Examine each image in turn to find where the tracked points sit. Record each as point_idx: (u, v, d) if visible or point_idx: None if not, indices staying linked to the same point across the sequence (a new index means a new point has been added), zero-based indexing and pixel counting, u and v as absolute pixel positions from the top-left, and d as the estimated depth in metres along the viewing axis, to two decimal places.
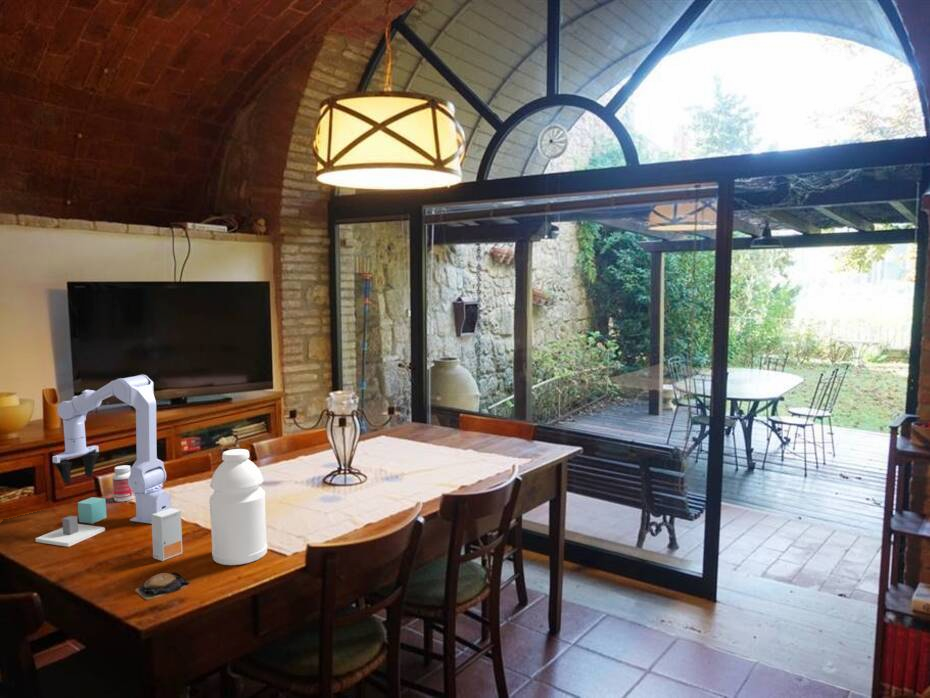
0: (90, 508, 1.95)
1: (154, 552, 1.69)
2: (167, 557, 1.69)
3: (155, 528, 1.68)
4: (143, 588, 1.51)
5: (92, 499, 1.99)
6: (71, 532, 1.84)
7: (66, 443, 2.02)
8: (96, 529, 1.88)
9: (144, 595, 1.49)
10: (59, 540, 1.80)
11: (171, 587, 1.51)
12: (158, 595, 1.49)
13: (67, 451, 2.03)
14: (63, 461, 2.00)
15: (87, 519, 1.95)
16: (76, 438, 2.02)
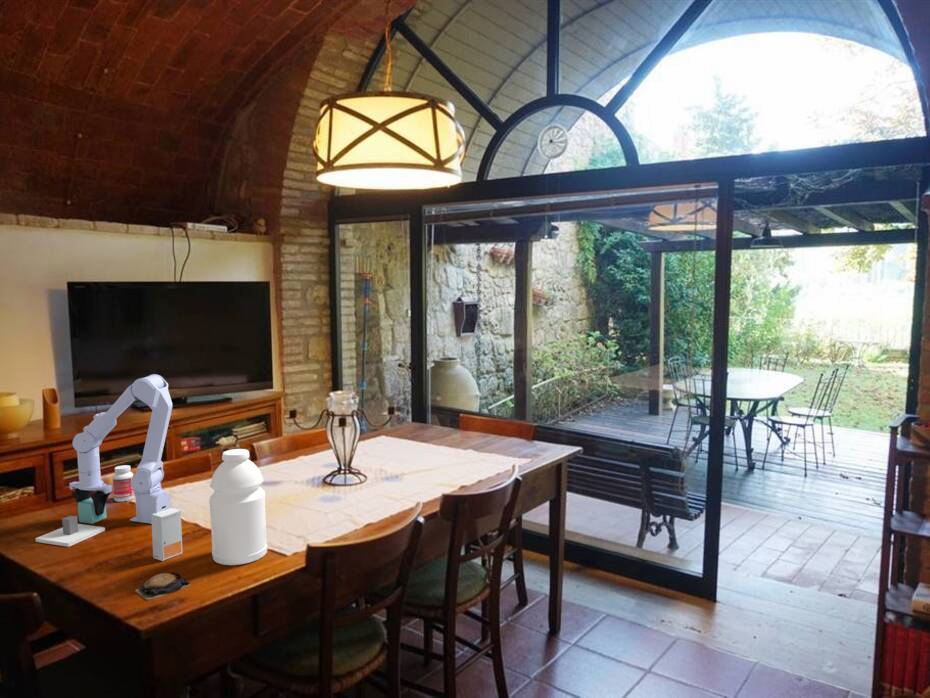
0: (90, 508, 1.95)
1: (154, 552, 1.69)
2: (167, 557, 1.69)
3: (155, 528, 1.68)
4: (143, 588, 1.51)
5: None
6: (71, 532, 1.84)
7: None
8: (96, 529, 1.88)
9: (144, 595, 1.49)
10: (59, 540, 1.80)
11: (171, 587, 1.51)
12: (159, 595, 1.49)
13: None
14: (75, 490, 1.98)
15: (87, 519, 1.95)
16: None
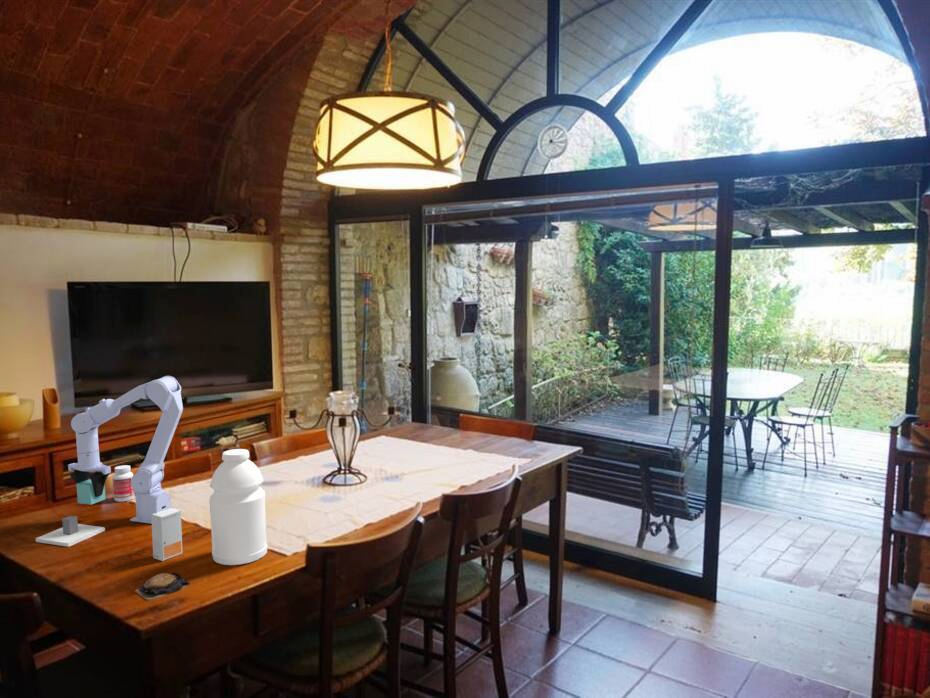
0: (89, 489, 1.94)
1: (154, 552, 1.69)
2: (167, 557, 1.69)
3: (155, 528, 1.68)
4: (143, 589, 1.51)
5: None
6: (71, 532, 1.84)
7: None
8: (96, 529, 1.88)
9: (145, 595, 1.49)
10: (59, 540, 1.80)
11: (172, 587, 1.51)
12: (159, 595, 1.49)
13: None
14: (74, 471, 1.97)
15: (86, 500, 1.95)
16: (77, 452, 1.94)
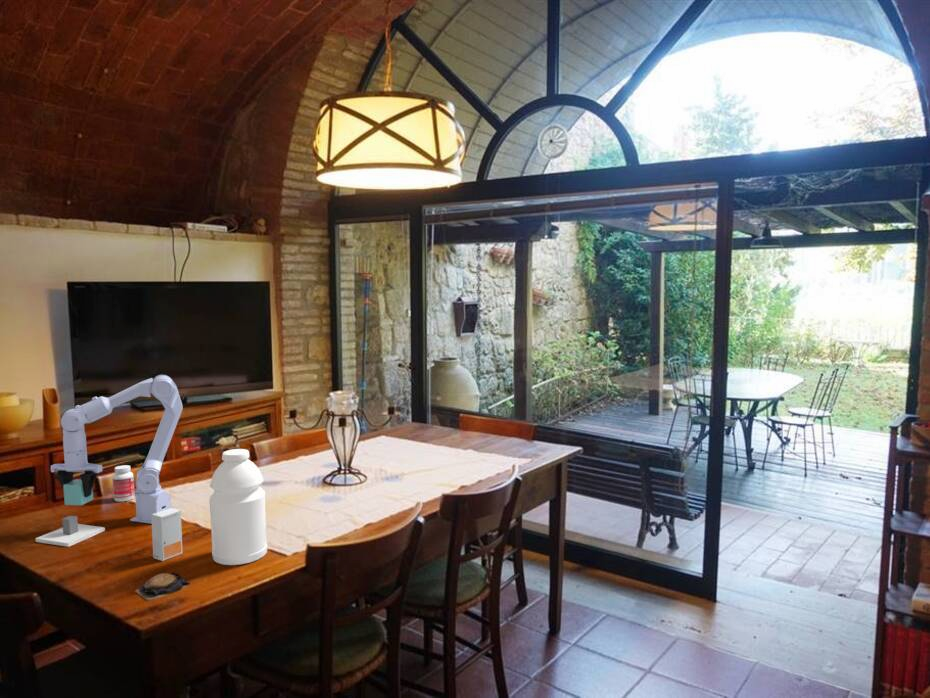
0: (79, 489, 1.87)
1: (154, 552, 1.69)
2: (167, 557, 1.69)
3: (155, 528, 1.68)
4: (143, 589, 1.51)
5: (77, 481, 1.91)
6: (71, 532, 1.84)
7: None
8: (96, 529, 1.88)
9: (145, 596, 1.49)
10: (59, 540, 1.80)
11: (172, 587, 1.51)
12: (159, 595, 1.49)
13: None
14: None
15: (75, 501, 1.88)
16: (65, 452, 1.86)
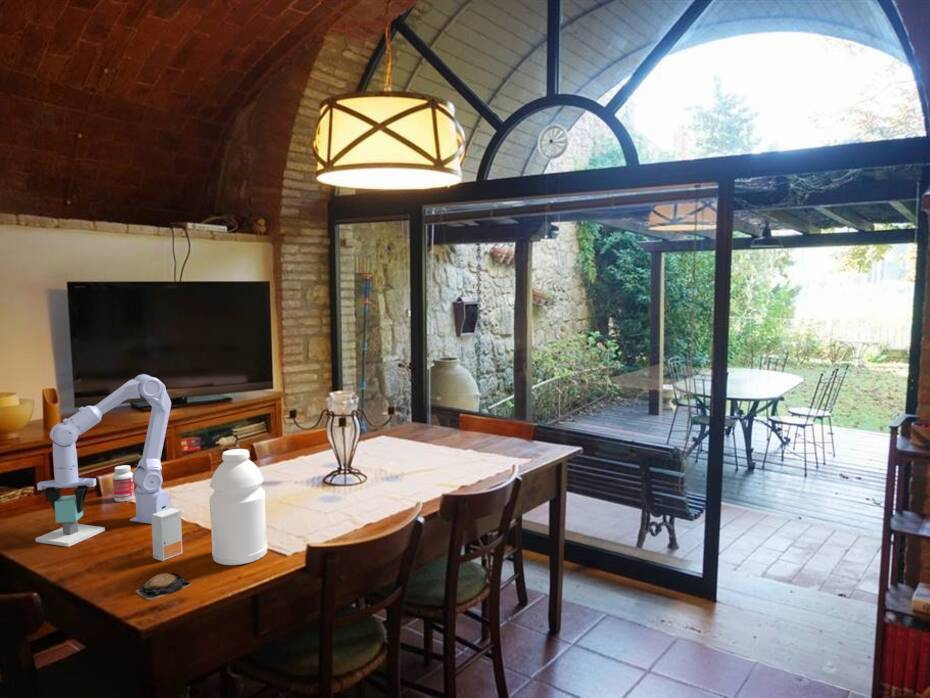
0: (73, 505, 1.82)
1: (154, 552, 1.69)
2: (167, 557, 1.69)
3: (155, 528, 1.68)
4: (144, 589, 1.51)
5: (67, 497, 1.85)
6: (71, 532, 1.84)
7: None
8: (96, 529, 1.88)
9: (145, 596, 1.49)
10: (59, 540, 1.80)
11: (172, 587, 1.51)
12: (160, 595, 1.49)
13: None
14: None
15: (68, 518, 1.82)
16: (56, 467, 1.81)
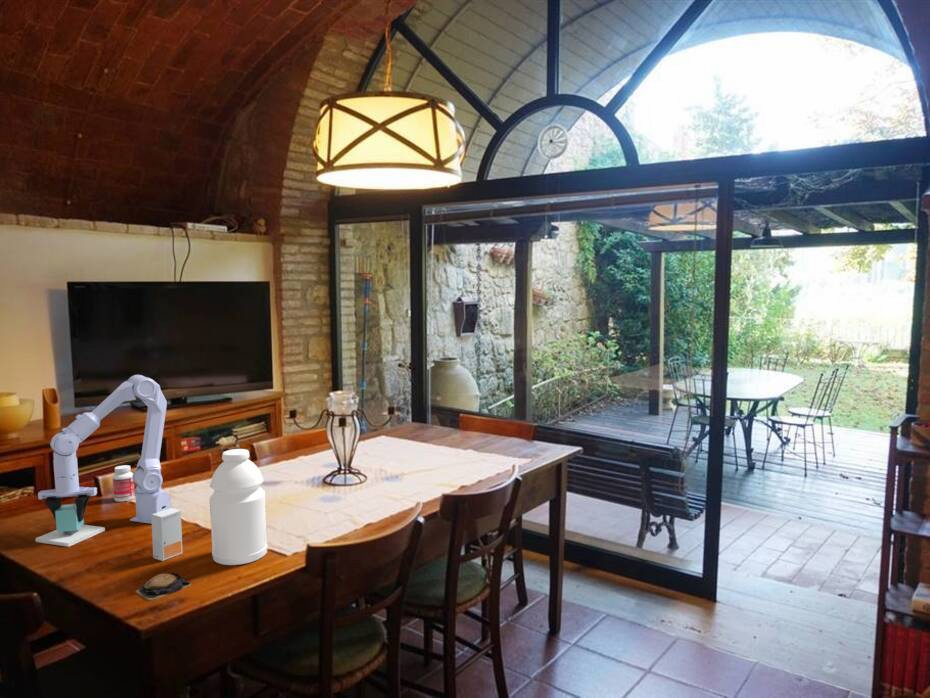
0: (74, 514, 1.83)
1: (154, 552, 1.69)
2: (167, 557, 1.69)
3: (155, 528, 1.68)
4: (144, 589, 1.51)
5: (67, 506, 1.85)
6: (71, 532, 1.84)
7: None
8: (96, 529, 1.88)
9: (146, 596, 1.49)
10: (59, 540, 1.80)
11: (172, 587, 1.51)
12: (160, 595, 1.49)
13: None
14: None
15: (69, 527, 1.83)
16: (57, 477, 1.81)
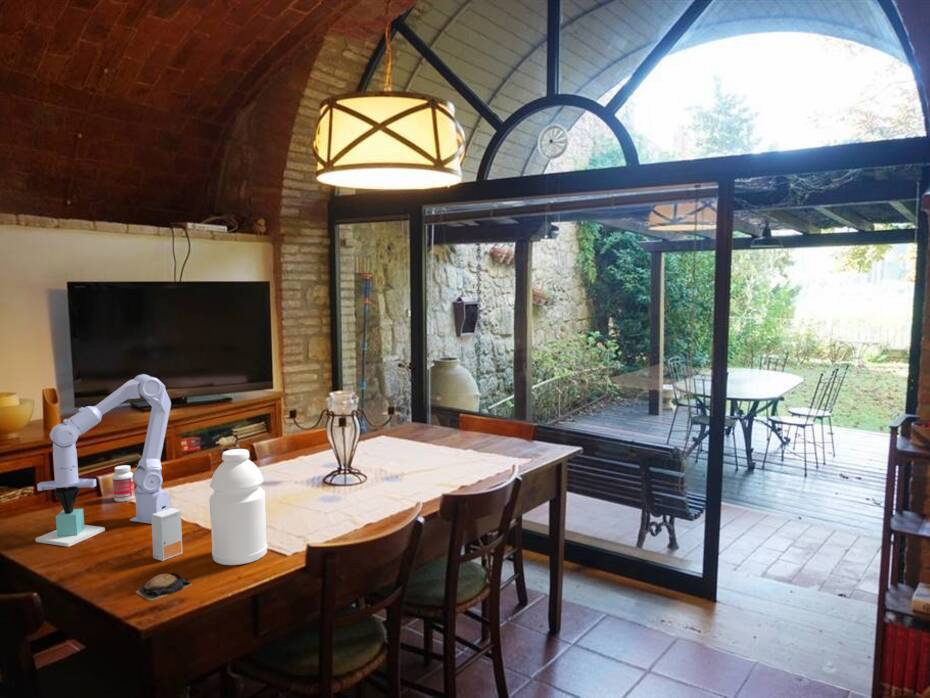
0: (74, 519, 1.83)
1: (154, 552, 1.69)
2: (167, 557, 1.69)
3: (155, 528, 1.68)
4: (144, 590, 1.50)
5: None
6: None
7: None
8: (96, 529, 1.88)
9: (146, 596, 1.48)
10: (59, 540, 1.80)
11: (173, 587, 1.51)
12: (161, 596, 1.49)
13: None
14: None
15: (69, 532, 1.83)
16: (56, 468, 1.81)
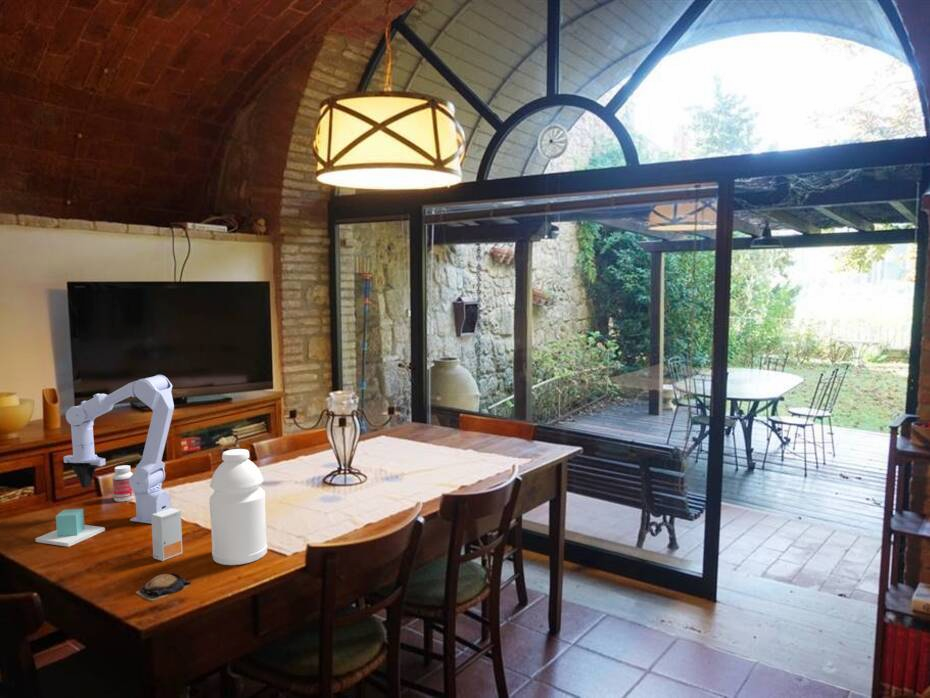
0: (74, 519, 1.83)
1: (154, 552, 1.69)
2: (167, 557, 1.69)
3: (155, 528, 1.68)
4: (145, 590, 1.50)
5: (68, 511, 1.86)
6: None
7: None
8: (96, 529, 1.88)
9: (147, 597, 1.48)
10: (59, 540, 1.80)
11: (174, 587, 1.51)
12: (162, 596, 1.49)
13: None
14: None
15: (69, 532, 1.83)
16: (72, 444, 1.97)
